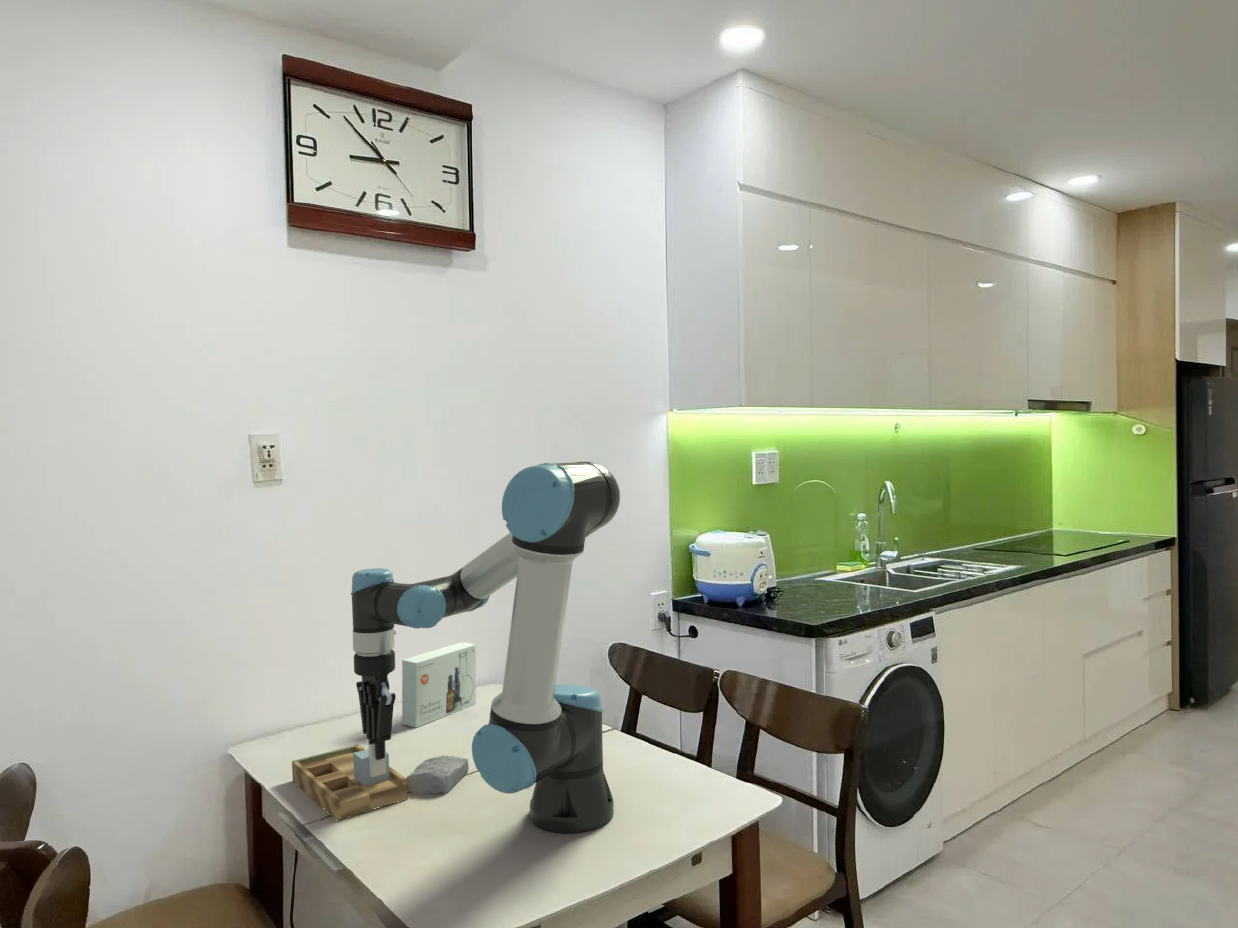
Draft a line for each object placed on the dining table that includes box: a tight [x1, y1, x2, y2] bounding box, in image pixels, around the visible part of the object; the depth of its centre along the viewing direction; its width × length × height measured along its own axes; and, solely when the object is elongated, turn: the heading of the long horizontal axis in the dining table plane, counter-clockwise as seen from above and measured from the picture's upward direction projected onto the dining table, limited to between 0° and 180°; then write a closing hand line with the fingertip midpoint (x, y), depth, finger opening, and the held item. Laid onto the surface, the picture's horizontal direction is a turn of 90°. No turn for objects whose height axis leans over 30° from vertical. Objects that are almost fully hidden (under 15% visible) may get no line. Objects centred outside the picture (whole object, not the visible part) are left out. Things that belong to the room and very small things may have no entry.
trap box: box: [291, 744, 408, 821], centre depth 165 cm, size 24×14×4 cm, turn 39°
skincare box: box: [401, 641, 477, 729], centre depth 209 cm, size 21×6×16 cm, turn 147°
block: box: [353, 748, 390, 786], centre depth 163 cm, size 5×5×5 cm
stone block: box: [405, 755, 470, 795], centre depth 169 cm, size 12×5×10 cm
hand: (377, 773), depth 160 cm, fingers closed
